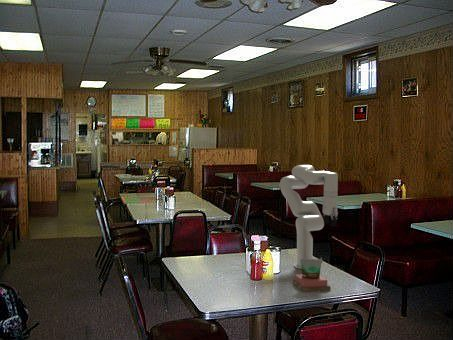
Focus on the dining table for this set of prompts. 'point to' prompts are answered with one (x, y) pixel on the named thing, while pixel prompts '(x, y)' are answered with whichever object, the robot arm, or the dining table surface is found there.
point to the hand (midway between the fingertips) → (330, 224)
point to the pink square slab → (310, 281)
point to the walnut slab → (311, 289)
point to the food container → (311, 268)
